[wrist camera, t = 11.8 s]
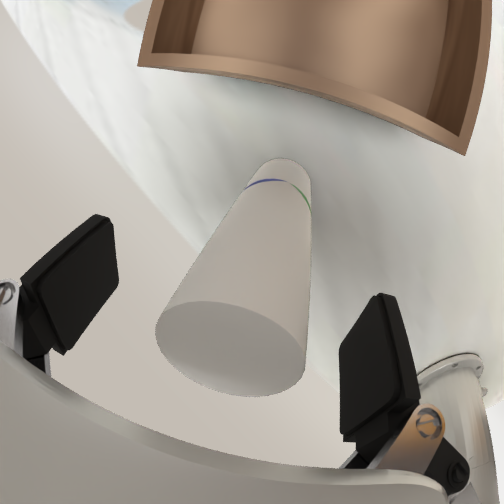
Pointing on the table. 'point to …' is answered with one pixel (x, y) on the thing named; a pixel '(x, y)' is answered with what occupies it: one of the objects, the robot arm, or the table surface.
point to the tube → (248, 292)
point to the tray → (340, 53)
